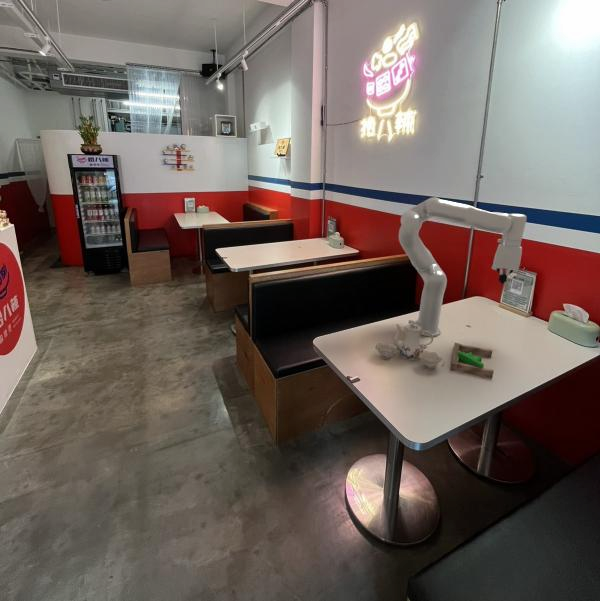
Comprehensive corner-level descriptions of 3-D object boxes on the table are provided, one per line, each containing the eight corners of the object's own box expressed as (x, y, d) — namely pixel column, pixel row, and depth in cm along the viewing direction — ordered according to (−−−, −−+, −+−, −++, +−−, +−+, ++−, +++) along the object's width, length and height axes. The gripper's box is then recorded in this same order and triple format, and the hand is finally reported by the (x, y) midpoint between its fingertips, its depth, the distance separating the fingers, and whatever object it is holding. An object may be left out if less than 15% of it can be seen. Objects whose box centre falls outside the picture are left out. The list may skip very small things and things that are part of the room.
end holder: (450, 369, 147) (451, 363, 146) (453, 348, 164) (454, 342, 163) (492, 379, 141) (493, 372, 140) (490, 355, 158) (492, 349, 157)
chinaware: (371, 364, 153) (374, 330, 146) (378, 343, 167) (381, 311, 159) (442, 378, 144) (449, 343, 137) (443, 355, 158) (449, 321, 151)
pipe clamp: (487, 370, 146) (488, 360, 144) (481, 374, 144) (481, 364, 142) (464, 357, 155) (464, 348, 153) (458, 360, 154) (458, 352, 151)
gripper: (492, 242, 159) (483, 282, 166) (531, 246, 154) (521, 287, 160) (491, 239, 166) (483, 278, 172) (529, 243, 160) (519, 283, 167)
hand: (501, 282), depth 166 cm, fingers closed
